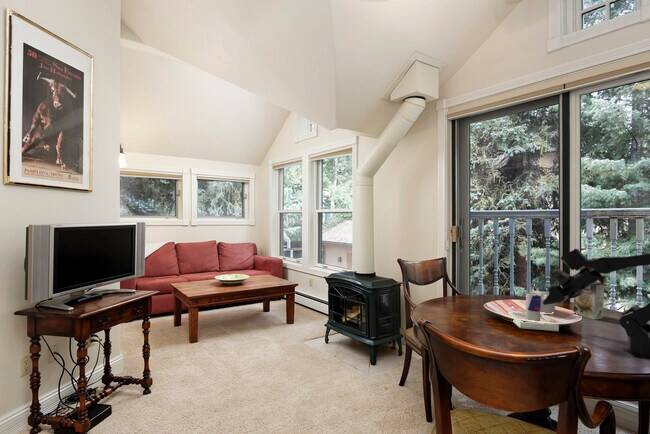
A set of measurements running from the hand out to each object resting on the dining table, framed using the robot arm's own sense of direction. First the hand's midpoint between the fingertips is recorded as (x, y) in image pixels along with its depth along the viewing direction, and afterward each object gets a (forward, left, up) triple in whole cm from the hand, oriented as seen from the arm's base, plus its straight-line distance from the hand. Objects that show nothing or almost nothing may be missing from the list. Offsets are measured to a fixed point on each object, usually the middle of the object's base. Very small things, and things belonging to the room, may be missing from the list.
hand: (548, 302), depth 135 cm
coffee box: (+22, -26, -11) cm, 36 cm away
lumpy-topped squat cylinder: (+26, -8, -11) cm, 29 cm away
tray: (+4, +4, -11) cm, 12 cm away
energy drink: (+4, +4, -10) cm, 12 cm away
